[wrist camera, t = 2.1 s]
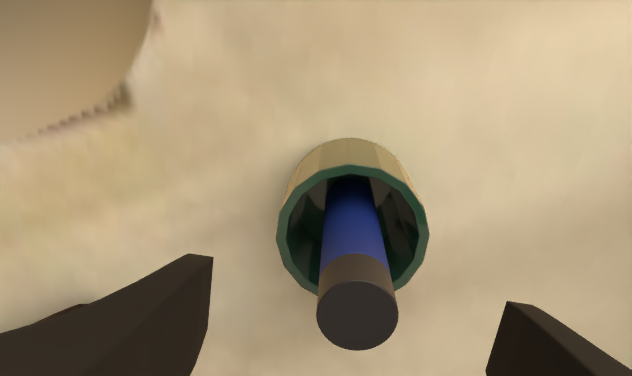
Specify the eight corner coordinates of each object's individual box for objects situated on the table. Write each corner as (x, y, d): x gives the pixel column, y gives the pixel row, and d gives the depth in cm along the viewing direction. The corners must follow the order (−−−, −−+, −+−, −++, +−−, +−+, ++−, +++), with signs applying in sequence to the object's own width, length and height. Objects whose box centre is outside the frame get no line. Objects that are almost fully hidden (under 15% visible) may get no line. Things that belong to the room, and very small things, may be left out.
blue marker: (377, 181, 19) (405, 286, 11) (369, 226, 20) (390, 356, 12) (329, 174, 19) (322, 274, 11) (322, 219, 20) (310, 344, 12)
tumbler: (421, 148, 19) (443, 177, 15) (397, 260, 21) (410, 313, 17) (297, 129, 19) (286, 154, 15) (282, 242, 21) (269, 292, 17)
